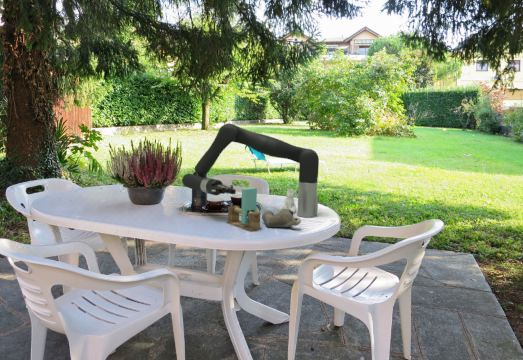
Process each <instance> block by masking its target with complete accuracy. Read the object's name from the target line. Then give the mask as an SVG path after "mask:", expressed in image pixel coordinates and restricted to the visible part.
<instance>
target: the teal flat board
mask: <svg viewBox="0 0 523 360" xmlns="http://www.w3.org/2000/svg"><path fill="white" fill-rule="evenodd" d="M257 192H258V188H257V187H255V186H254V187H246V188H245V187H243V188H241V209H242V210H241V214H240V217H241V219H240V221H241V223H243V224H248V223H249V217H247V211H248V210H249V211H252V212H257V199H258V198H257V196H258V193H257Z"/></svg>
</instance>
